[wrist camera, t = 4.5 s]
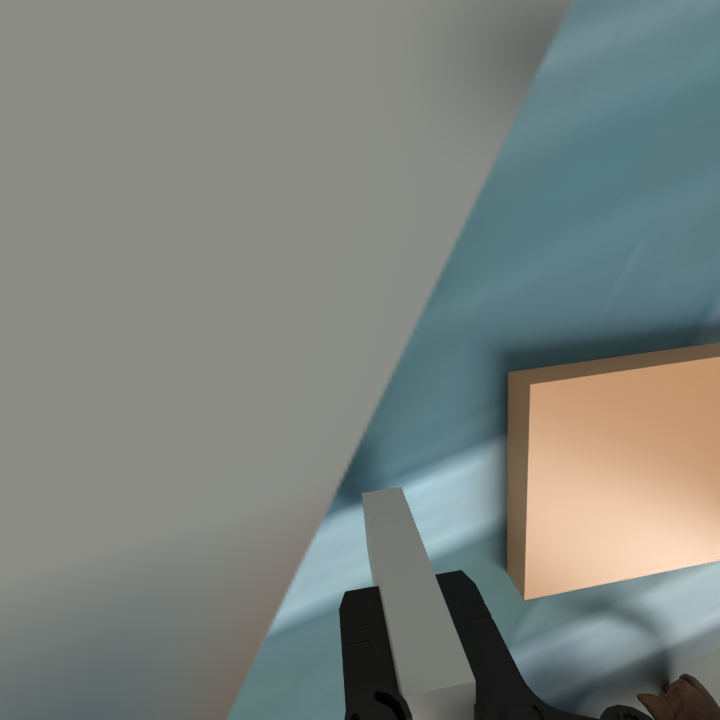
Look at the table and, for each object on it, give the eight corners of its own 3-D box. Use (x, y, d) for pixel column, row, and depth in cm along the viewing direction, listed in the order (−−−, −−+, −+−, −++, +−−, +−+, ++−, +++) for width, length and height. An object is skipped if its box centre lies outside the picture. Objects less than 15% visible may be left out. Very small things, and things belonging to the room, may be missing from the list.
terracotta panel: (501, 563, 17) (524, 600, 16) (502, 368, 15) (529, 384, 13) (789, 507, 19) (842, 535, 17) (838, 321, 16) (908, 328, 14)
